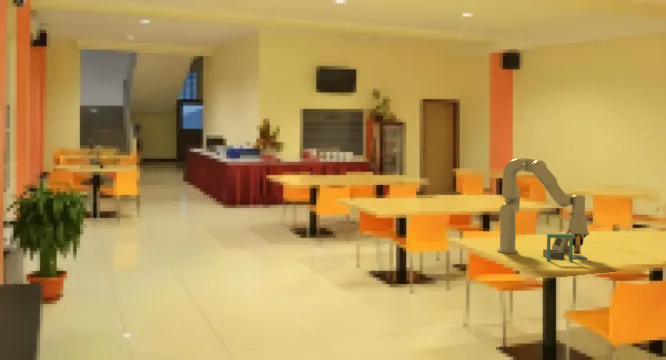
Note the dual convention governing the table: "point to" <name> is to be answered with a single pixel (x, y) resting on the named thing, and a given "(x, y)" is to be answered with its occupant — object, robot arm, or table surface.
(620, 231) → the table surface
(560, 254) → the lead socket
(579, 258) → the mat
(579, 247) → the cylinder
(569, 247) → the green arch
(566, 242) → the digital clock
